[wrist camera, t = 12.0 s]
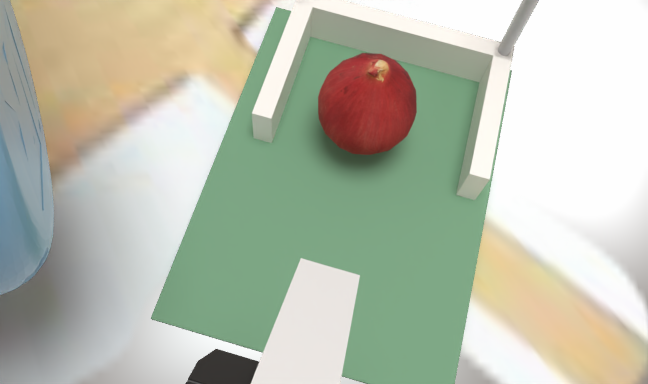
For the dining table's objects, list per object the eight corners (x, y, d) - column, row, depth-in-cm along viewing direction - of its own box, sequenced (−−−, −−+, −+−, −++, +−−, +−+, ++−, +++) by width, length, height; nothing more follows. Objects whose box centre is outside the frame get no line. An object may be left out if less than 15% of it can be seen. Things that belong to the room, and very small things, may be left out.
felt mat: (151, 319, 35) (150, 318, 34) (276, 10, 44) (276, 7, 44) (448, 408, 34) (449, 407, 33) (510, 73, 43) (511, 70, 43)
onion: (314, 94, 41) (328, 11, 34) (400, 102, 41) (432, 22, 34) (310, 173, 38) (325, 102, 31) (402, 180, 39) (437, 111, 32)
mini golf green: (253, 138, 39) (240, -40, 26) (298, 19, 44) (308, -189, 30) (474, 200, 39) (581, 51, 25) (499, 73, 43) (602, -115, 29)
